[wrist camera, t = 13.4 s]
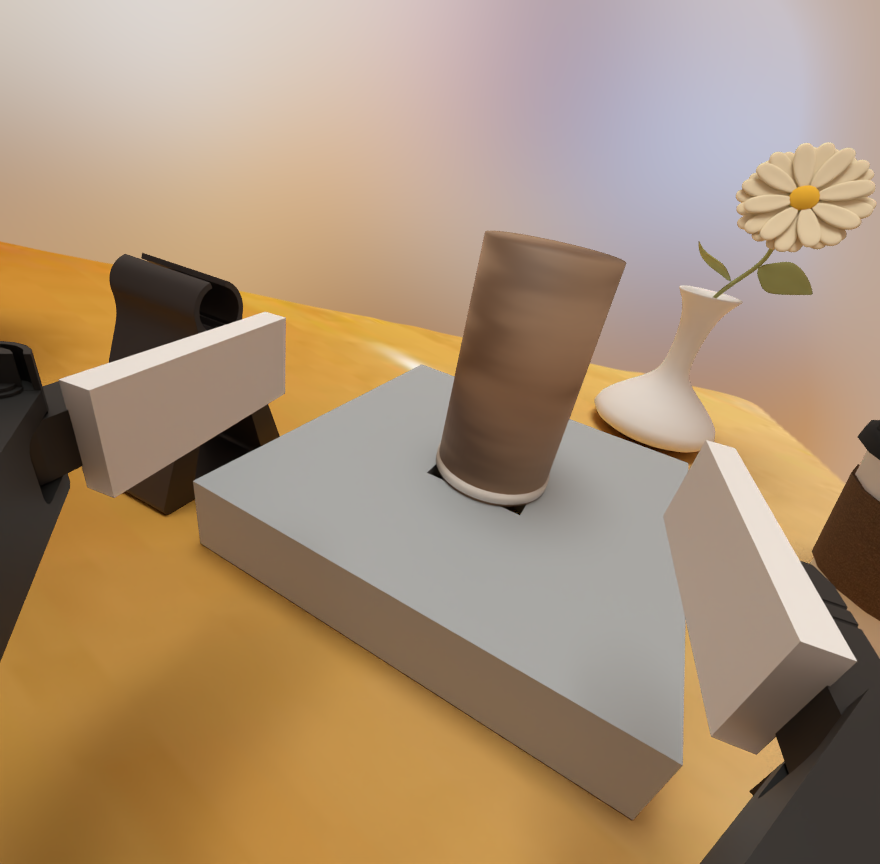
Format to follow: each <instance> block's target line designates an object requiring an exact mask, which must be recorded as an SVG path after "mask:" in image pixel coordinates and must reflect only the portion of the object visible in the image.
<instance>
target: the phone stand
mask: <svg viewBox="0 0 880 864" xmlns="http://www.w3.org/2000/svg"><path fill="white" fill-rule="evenodd" d="M142 259H145V260H147V261H145V260H142ZM142 259H139V258H135V257H133V256H130V255H127V254H124V255H122V256H121V257H119V258H118V259H117V260H116V262H115V263H114V264H113V266H112V269H111V272H110V286H111V289H112V292H113V295H114V298H115V303H116V312H117V314H116V324H115V330H114V335H113V341H112V347H111V352H110V358H109V363H111V362H114V361H117V360H120V359H123V358H126V357H129V356H132V355H135V354H138V353H141V352H144V351H147V350H150V349H153V348H156V347H159V346H162V345H165V344H169V343H172V342H175V341H178V340H181V339H184V338H187V337H190V336H193V335H196V334H199V333H202V332H205V331H208V330H211V329H214V328H217V327H220V326H223V325H226V324H229V323H233V322H236V321H239V320H242V313H243V302H242V298H241V295H240V293H239V291H238V289H237V288H236V287H235V286H234V285H233V284H231V283H230V282H228V281H225V280H222V279H219V278H216V277H213V276H210V275H207V274H204V273H201V272H198V271H195V270H192V269H189V268H186V267H183V266H180V265H177V264H174V263H171V262H168V261H165V260H162V259H159V258H156V257H153V256H150V255H147V254H144V253H142ZM278 437H280V436H279V433H278V430H277V428H276V425H275V422H274V419H273V417H272V414H271V411H270V408H269V406H268V404H267V405H265V406H264V407H262V408H260V409H259V410H257V411H255V412H254V413H252V414H251V415H249V416H247V417H246V418H244V419H242V420H241V421H239V422H238V423H236V424H234V425H233V426H231V427H229V428H228V429H226V430H224V431H223V432H221V433H220V434H218V435H216V436H215V437H213V438H211V439H210V440H208V441H207V442H205V443H203V444H202V445H200V446H198V447H197V448H195V449H193V450H192V451H190V452H189V453H187V454H185V455H184V456H182V457H180V458H179V459H177V460H175V461H174V462H172V463H171V464H169V465H167V466H166V467H164V468H162V469H161V470H159V471H158V472H156V473H154V474H153V475H151V476H149V477H148V478H146V479H144V480H143V481H141V482H140V483H138V484H136V485H135V486H133V487H131V488H130V489H128V490H126V491H125V492H127V493H129V494H131V495H133V496H134V497H136V498H138V499H140V500H141V501H143V502H145V503H147V504H149V505H150V506H152V507H154V508H156V509H158V510H159V511H161V512H163V513H165V514H171V513H172V512H174V511H176V510H177V509H179V508H181V507H182V506H184V505H186V504H188V503H189V502H191V501H193V500H194V499H195V494H194V485H193V481H194V480H196V479H198V478H200V477H202V476H204V475H206V474H208V473H210V472H212V471H214V470H216V469H218V468H220V467H221V466H223V465H225V464H227V463H229V462H231V461H233V460H235V459H237V458H239V457H241V456H243V455H245V454H247V453H249V452H251V451H253V450H255V449H257V448H259V447H261V446H263V445H265V444H267V443H269V442H271V441H273V440H275V439H277V438H278Z"/></svg>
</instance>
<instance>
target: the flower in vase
mask: <svg viewBox="0 0 880 864" xmlns="http://www.w3.org/2000/svg"><path fill="white" fill-rule="evenodd" d="M855 154H856V152H855V150H854V149H852V148H845V149H842V150H840V151H839V150H838V149H835V145H834V144H833V143H824V144H822V145H821V146H819V147H818V148H816V147H813V146H812V145H811V144H809V143H804V144H801V145H800V146H799V147H798V148H797V149H796V151H795V154H794V153H792V152H786V153H782V152H775V153H773V154H772V155H771V156H770V160H769V161H766V162H765V163H762V164H760V165H759V166H758V167H757V169H756V173H754V174H752V175H751V176H750V177H749V179H748V180H746V181H744V182H743V184H742V190H740V191H738V192H737V194H736V199H737V200H738V201H739V202H741V204H739V205H738V206H737V212H738V213H739V214H741V215H743V217H741V218H740V219H739V220H738V222H737V225H738V227H739V228H741V229H744V230H745V231H746V232H747V233H749V234H752V238H753V239H754V240H755V241H764V240H766V246H767V247H768V248H769V250H768V252H767V253H766V255H765V256H764V257H763V258H762V260H761V261H759V262H758V263H757V264H756V265H755V266H754V267H752V268H751V269H750V270H748V271H747V272H745V273H744V274H742V275H741V276H739V277H738V278H736V279H735V280H733V281H732V282H730V283H729V284H728V285H726V286H725V287H723V288H722V289H721V290H720V291H719V292H715V291H711V290H706V289H702V288H698V287H692V286H684V285H682V286H680V292H681V296H682V315H681V319H680V324H679V327H678V330H677V333H676V336H675V339H674V341H673V344H672V346H671V348H670V351H669V353H668V354H667V356H666V358H665V359H664V361H663V363H662V364H661V365H660V366H659V367H657V368H656V369H655V370H653V371H651V372H649V373H646V374H643V375H641V376H637V377H634V378H630V379H627V380H624V381H621V382H618V383H615V384H613V385H611V386H609V387H606V388H604V389H603V390H602V391H601V392H600V393H599V394H598V395H597V396H596V398H595V405H596V409H597V412H598V413H599V415H600V416H601V417H602V419H603V420H605V421H606V422H607V423H608V424H609V425H611V426H612V427H613V428H615V429H616V430H618V431H619V432H621V433H622V434H624V435H626V436H628V437H630V438H632V439H634V440H636V441H639V442H641V443H643V444H646V445H649V446H652V447H656V448H660V449H665V450H670V451H676V452H697V451H700V450H701V448H702V446H703V444H704V443H705V441H706V440H708V441H711V442H714V439H715V428H714V426H713V423H712V421H711V418H710V416H709V414H708V413H707V411H706V409H705V408H704V406H703V404H702V403H701V401H700V400H699V398H698V397H697V395H696V393H695V392H694V390H693V388H692V385H691V382H690V370H691V367H692V364H693V361H694V359H695V357H696V355H697V353H698V351H699V349H700V347H701V345H702V344H703V342H704V340H705V339H706V337H707V336H708V334H709V333H710V331H711V330H712V329H713V327H714V326H715V325H716V323H717V322H718V321H719V320H720V319H721V318H722V317H723V316H724V315H725V314H727V313H728V312H729V311H731V310H732V309H734V308H735V307H737V306H739V305H740V304H742V303H743V302H742V301H741V300H739V299H737V298H734V297H731V296H729V295H725V294H722V293H723V292H725V291H726V290H727V289H729V288H730V287H732V286H733V285H735V284H736V283H737V282H739V281H741V280H742V279H743V278H745V277H746V276H748V275H749V274H751V273H752V272H754V271H755V270H756V269H757V268H758V272H757V274H758V278H759V281H760V284H761V286H762V288H763V289H764V290H765V291H766V292H768V293H772V294H782V295H811V294H813V293H812V288H811V285H810V282H809V280H808V278H807V277H806V275H805V273H804V272H803V271H802V270H801V268H799V267H798V266H797V265H795V264H794V263H791V262H780V263H772V264H766V265H763V266H761V265H762V264H763V263H764V262H765V261H766V260H767V259H768V258H769V256H770V255H771V253H772V252H773V250H775V249H776V250H777V251H779V252H785V251H789V252H797V251H798V250H800V248H801V247H802V246H803V245H804V246H805V247H811V248H813V249H821V248H823V247H825V245H827V246H834V245H837V244H838V243H840V242H841V240H843V239H844V238H845V237H846V231H845V230H851V229H855V228H857V227H859V226H860V224H861V219H863V218H866V217H868V216H870V215H871V214H872V212H873V209H874V208H875V207H876V201H875V200H874V199H872V198H868V197H867V196H869V195H871V194H873V192H874V191H875V183H874V182H873V181H870V180H871V179H872V178H873V177H874V172H873V170H871V169H869V167H870V164H869V162H868V161H866V160H859V161H857V159H856V158H855ZM699 251H700V254H701V256H702V258H703V259H704V261H705V262H706V263H707V264H708V265H709V266H710V267H711V268H713V269H714V270H715V271H716V272H718V273H719V274H721V275H722V276H723V277H724V278H726V279H727V280H729V281H731V280H730V276H729V273H728V271H727V269H726V267H725V266H724V265H723V264H722V263H721V262H719V261H718V260H717V259H715V258H714V257H712V256H711V255H710V254H708V253H707V252H706V251H705V250H704V249H703V248H702V246H701V244H700V242H699ZM760 266H761V267H760Z"/></svg>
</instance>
